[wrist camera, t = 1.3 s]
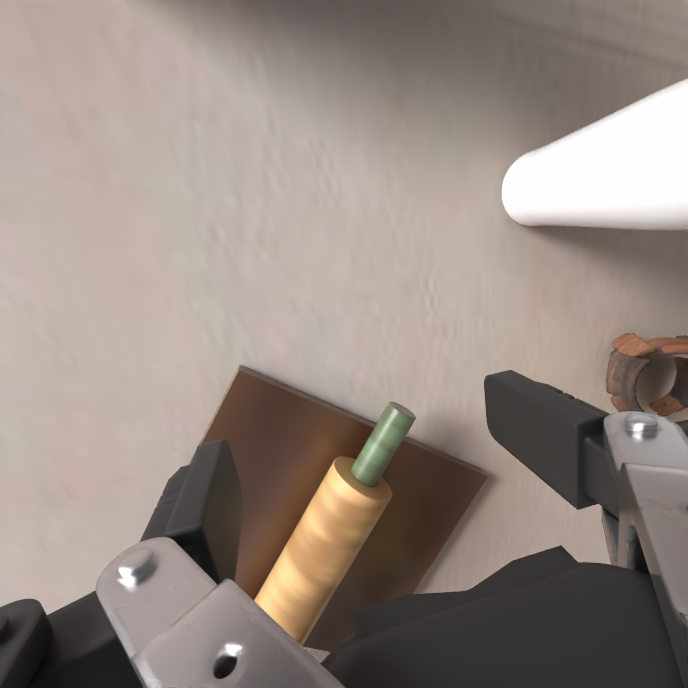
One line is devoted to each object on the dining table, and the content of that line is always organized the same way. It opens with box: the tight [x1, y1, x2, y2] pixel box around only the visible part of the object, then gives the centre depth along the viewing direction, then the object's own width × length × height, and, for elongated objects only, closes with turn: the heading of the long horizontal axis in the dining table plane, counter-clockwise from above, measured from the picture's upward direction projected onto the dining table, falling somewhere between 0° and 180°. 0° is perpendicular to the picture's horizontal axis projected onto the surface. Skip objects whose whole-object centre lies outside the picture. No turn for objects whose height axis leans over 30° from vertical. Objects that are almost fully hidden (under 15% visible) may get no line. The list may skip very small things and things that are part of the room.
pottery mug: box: [606, 333, 688, 429], centre depth 33 cm, size 12×10×8 cm
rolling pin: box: [254, 402, 416, 646], centre depth 29 cm, size 5×28×5 cm, turn 151°
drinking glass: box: [502, 78, 688, 230], centre depth 21 cm, size 7×7×15 cm
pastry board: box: [189, 365, 488, 652], centre depth 32 cm, size 24×22×1 cm
